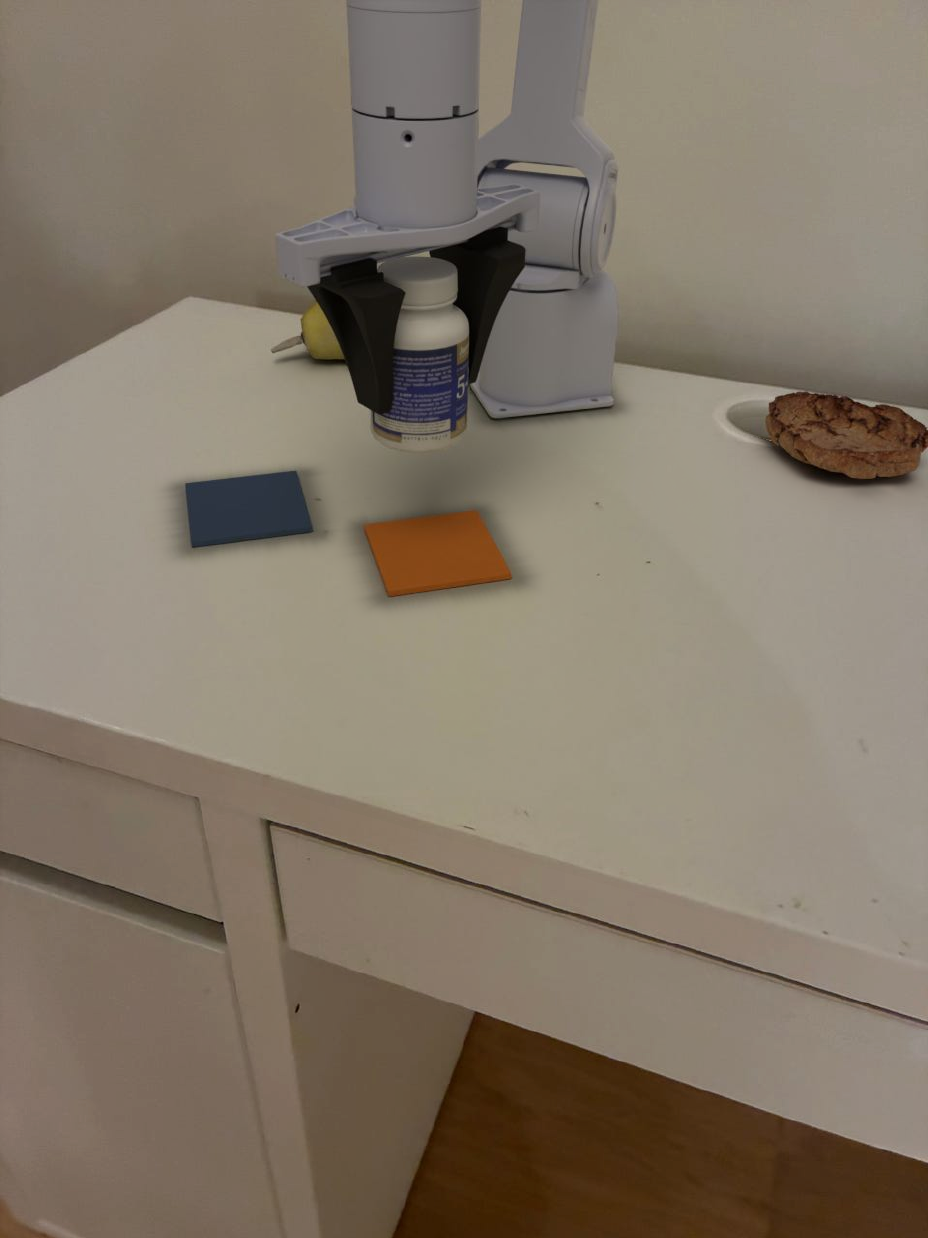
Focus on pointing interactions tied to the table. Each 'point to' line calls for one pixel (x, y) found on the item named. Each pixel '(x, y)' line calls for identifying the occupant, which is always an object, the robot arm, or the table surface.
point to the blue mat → (246, 508)
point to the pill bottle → (426, 359)
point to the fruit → (314, 336)
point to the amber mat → (435, 553)
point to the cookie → (846, 434)
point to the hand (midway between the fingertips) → (418, 391)
